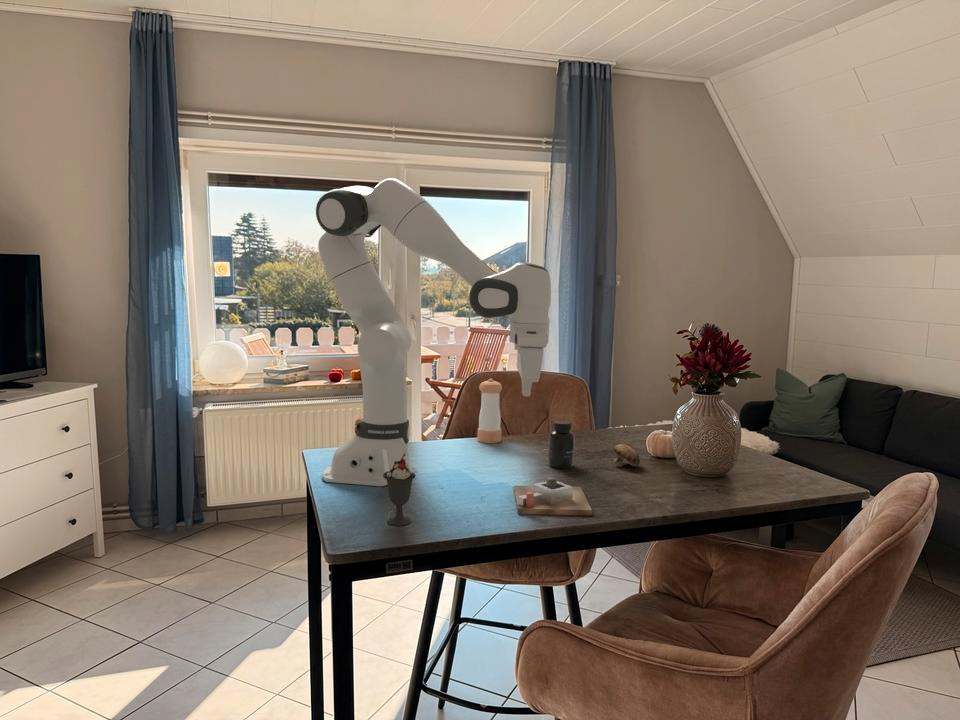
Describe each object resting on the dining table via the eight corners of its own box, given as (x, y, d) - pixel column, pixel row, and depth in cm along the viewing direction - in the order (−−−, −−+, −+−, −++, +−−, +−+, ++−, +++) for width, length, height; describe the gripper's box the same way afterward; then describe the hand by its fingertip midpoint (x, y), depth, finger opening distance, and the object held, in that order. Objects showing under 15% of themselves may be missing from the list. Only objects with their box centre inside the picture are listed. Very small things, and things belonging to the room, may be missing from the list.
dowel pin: (526, 507, 152) (526, 494, 151) (525, 505, 153) (526, 492, 153) (533, 508, 152) (534, 494, 151) (532, 505, 153) (533, 492, 153)
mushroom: (605, 456, 187) (619, 437, 188) (606, 460, 195) (619, 442, 195) (630, 474, 184) (644, 454, 185) (631, 477, 192) (644, 458, 193)
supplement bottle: (572, 470, 185) (574, 425, 183) (546, 468, 186) (548, 424, 185) (574, 463, 192) (576, 420, 190) (549, 461, 193) (550, 418, 191)
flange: (553, 492, 163) (554, 479, 162) (572, 499, 157) (572, 487, 157) (511, 501, 156) (511, 488, 155) (529, 509, 150) (529, 496, 150)
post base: (517, 513, 151) (518, 489, 150) (513, 490, 167) (514, 468, 166) (591, 515, 151) (592, 490, 151) (580, 491, 167) (581, 469, 166)
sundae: (406, 529, 141) (407, 457, 139) (377, 524, 143) (377, 453, 141) (421, 519, 147) (421, 449, 145) (392, 514, 149) (393, 445, 147)
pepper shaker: (500, 437, 218) (501, 376, 216) (502, 443, 211) (504, 380, 209) (476, 437, 218) (478, 376, 215) (478, 443, 211) (479, 380, 208)
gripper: (512, 330, 168) (509, 386, 170) (518, 339, 148) (514, 403, 150) (538, 331, 168) (535, 387, 170) (547, 340, 148) (544, 404, 150)
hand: (526, 395), depth 160 cm, fingers closed
